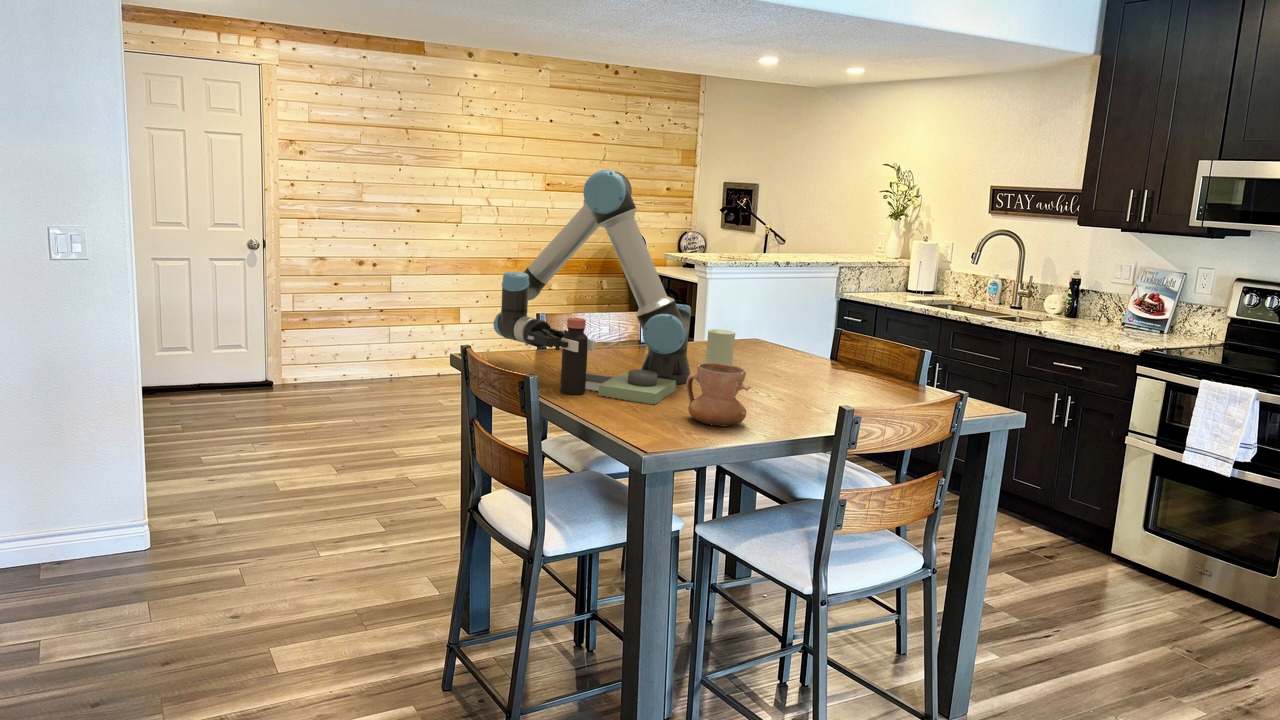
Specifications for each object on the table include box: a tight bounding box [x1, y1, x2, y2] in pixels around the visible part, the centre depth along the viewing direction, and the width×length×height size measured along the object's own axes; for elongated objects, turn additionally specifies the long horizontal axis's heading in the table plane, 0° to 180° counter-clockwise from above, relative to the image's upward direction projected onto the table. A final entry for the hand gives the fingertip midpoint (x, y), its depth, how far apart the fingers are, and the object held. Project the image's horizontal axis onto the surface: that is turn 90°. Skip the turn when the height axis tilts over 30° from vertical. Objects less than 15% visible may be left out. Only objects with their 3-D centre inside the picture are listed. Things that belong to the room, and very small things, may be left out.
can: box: [704, 328, 736, 366], centre depth 306 cm, size 9×9×12 cm
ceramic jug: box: [685, 362, 752, 426], centre depth 231 cm, size 18×14×14 cm
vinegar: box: [559, 317, 589, 395], centre depth 249 cm, size 7×7×20 cm
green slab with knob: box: [585, 369, 677, 405], centre depth 257 cm, size 20×28×6 cm
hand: (585, 346), depth 244 cm, fingers open, 5 cm apart
